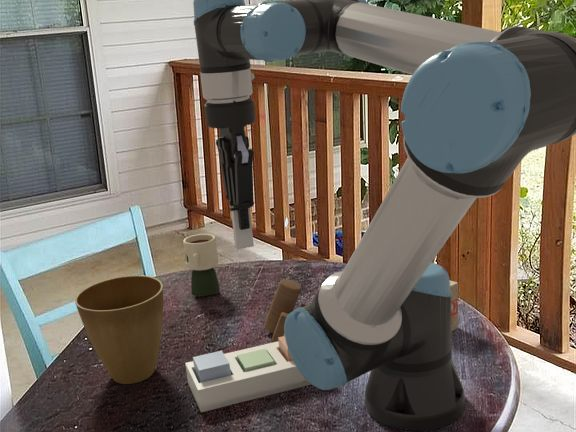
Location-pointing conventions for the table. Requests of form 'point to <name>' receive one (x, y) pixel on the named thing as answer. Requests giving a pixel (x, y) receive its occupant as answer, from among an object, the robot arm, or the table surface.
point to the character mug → (202, 263)
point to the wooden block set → (282, 307)
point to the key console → (245, 380)
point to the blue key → (211, 366)
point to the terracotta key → (284, 349)
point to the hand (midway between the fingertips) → (244, 246)
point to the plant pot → (124, 324)
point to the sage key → (255, 360)
